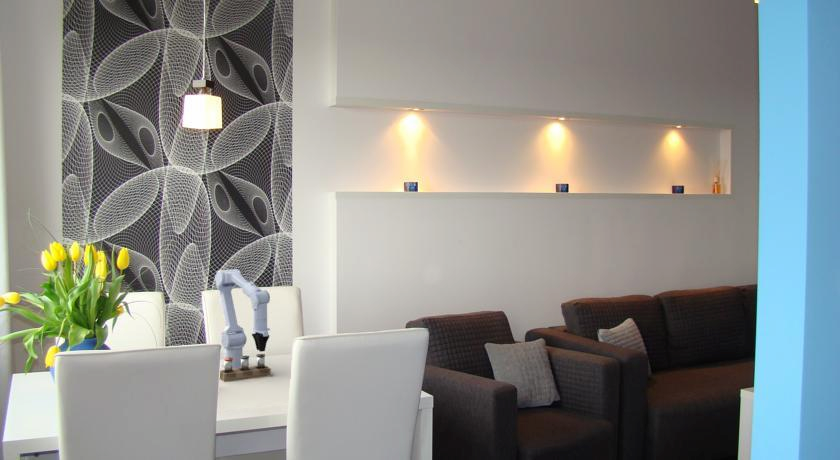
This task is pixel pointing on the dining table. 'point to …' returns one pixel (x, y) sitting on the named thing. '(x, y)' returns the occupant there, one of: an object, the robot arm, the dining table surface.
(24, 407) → the dining table surface
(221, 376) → the jig
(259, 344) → the robot arm
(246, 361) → the plunger
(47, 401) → the dining table surface
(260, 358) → the plunger
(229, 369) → the plunger red
